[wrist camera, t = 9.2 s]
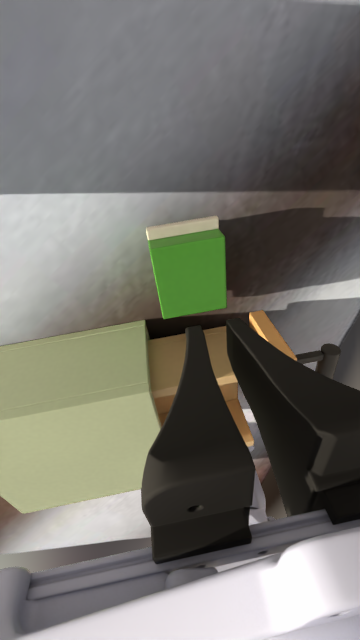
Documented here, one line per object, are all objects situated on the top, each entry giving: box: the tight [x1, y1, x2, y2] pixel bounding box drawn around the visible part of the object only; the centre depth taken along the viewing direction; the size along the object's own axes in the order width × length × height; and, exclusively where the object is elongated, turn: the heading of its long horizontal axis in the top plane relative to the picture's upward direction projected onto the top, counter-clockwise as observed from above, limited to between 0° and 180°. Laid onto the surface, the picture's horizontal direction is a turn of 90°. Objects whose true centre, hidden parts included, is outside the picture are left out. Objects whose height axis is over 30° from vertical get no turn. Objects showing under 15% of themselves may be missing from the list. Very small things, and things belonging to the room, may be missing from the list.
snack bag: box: [146, 216, 227, 319], centre depth 19 cm, size 7×5×4 cm
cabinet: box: [0, 320, 162, 514], centre depth 23 cm, size 14×13×8 cm
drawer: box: [148, 310, 341, 447], centre depth 24 cm, size 17×11×6 cm, turn 97°
